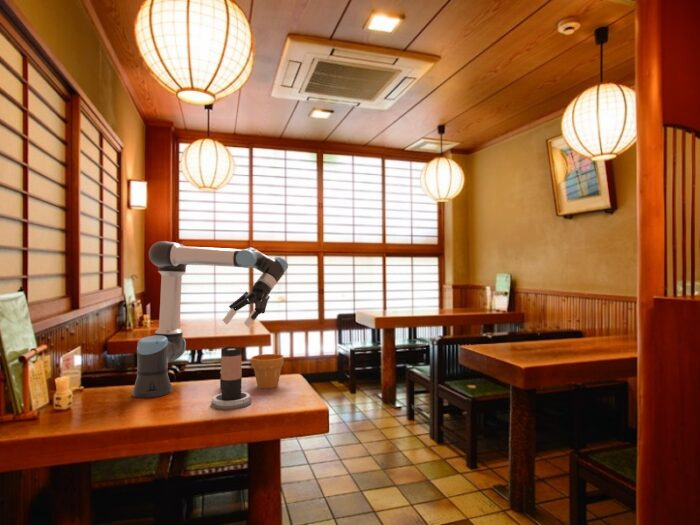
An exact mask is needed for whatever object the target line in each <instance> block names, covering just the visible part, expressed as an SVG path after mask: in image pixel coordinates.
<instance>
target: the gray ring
mask: <svg viewBox="0 0 700 525" xmlns="http://www.w3.org/2000/svg"><path fill="white" fill-rule="evenodd" d="M251 404H252V397H251V394H250V393H248V392H246V391H241V399H238V400H233V401H222V392H220V393H217V394H216V395H214V396H213V397H212V400H211V401H210V407H211V408H212V407H213V409H214V408H215V409H214V410H218V409H220V411H229V410H230V409H233V410H238V408H239V409H243V408H247V407H248V406H250V405H251ZM230 411H231V410H230Z"/></svg>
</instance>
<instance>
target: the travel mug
mask: <svg viewBox="0 0 700 525" xmlns="http://www.w3.org/2000/svg"><path fill="white" fill-rule="evenodd" d="M220 351H221V354H220V357H221V358H220V372H221V389H220V390H221V392H220V393H222V401H233V400H238V399H241V392H242V383H243V382H242V375H243V373H242V372H243V371H242V347H241V346H240V347H236V348H235V347H234V346H227V347H222V348H221V349H220Z"/></svg>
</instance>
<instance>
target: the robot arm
mask: <svg viewBox="0 0 700 525" xmlns="http://www.w3.org/2000/svg"><path fill="white" fill-rule="evenodd" d="M148 259H149V260H150V262H151V263H152V264H153V265H154V266H156V267H158V268H157V272H158V273H159V274H160V276H161V277H160V278H161V279H160V280H161V282H160V301H159V303H160V304H159V318H158V319H159V322H158V329H157V330H155V332H154V335H149V336H145V337H143V338H141V339H139V340H138V341H137V347H136V356H137V358H136V359H137V361H136V363H137V364H136V365H137V366H136V367H137V369H136V370H137V371H136V372H137V373H136V379H135V383H134V386H133V388H132V397H133V398H137V397H138V399H148V398H149V399H151V398H158V397H162V396H166V395H169V394H171V393H172V391H173V385H172V383H171V381H170V377H169V374H168V368H169V367H168V365H169V364H168V363H170V362H173V361H176V360H177V359H179V358H180V357H182V356H183V354H185V352H186V348H187V342H186V339H185V338H184V336H183V334H184V333H183V332H184V331H183V330H182V329H181V328H180V322H181V321H180V320H181V302H182V301H181V300H182V279H183V278H182V277H183V275H185V273H186V271H187V270H186V269H187V268H186V267H187V266H188V265H192V266H209V267H210V266H211V267H213V266H214V267H215V266H216V267H233V268H234V267H235V268H244V269H249V268H250V269H255V270H257V271H259V272H261V275H260V276H259V278H258V279H257V281H256V282H255V283H254V284H253V286H251V291H250V292H248V291H245V292H244V293H243V294H242V295H241V296H240V297H238V298H237V299H236V300H235V301H233V302H232V303H230V305H229V306H228V307H229V308H230V310H229V311H228V312H227V314H226V315H225V316H224V317H223V319H222V321H223V322H224V323H225V325H228V324H229V323H231V321H232V319H233V318H234V316H236V314H237V311H239V310H241V309H242V308H244V307H245V306H247V305H251V304H255V305H254V310H251V313H250V314H249V315H248V316H247V318H246V319H245V321H244V322H243V324H244V325H245V326H246V327H247V328H250V326H252V324H253V323H254V321H255V320H256V319H257V317H258V316H259V315H261V314H262V315H264V314H265V313H266V309H267V304H268V301H269V299H271V298H270V295H269V294H270V293H271V292H272V291H273V289H274V288H275V286H276V285H277V284H278V282H279V281H280V279H282V277H283V276H284V275H285V273H286V272H287V269H288V268H289V265H288V262H287V260H285V259H284V258H283V257H280V256H276V257H274V258H271V257H270V256H267V255H266V254H264V253H262V252H261V251H260V250H258V249H256V248H254V247H248V248H243V249H240V248H239V249H237V248H221V247H200V246H185V245H184V244H182V243H179V242H173V241H167V240H161V241H157V242H155V243H153V244H152V245H151V246H150V248H149V250H148ZM150 397H151V398H150Z"/></svg>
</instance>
